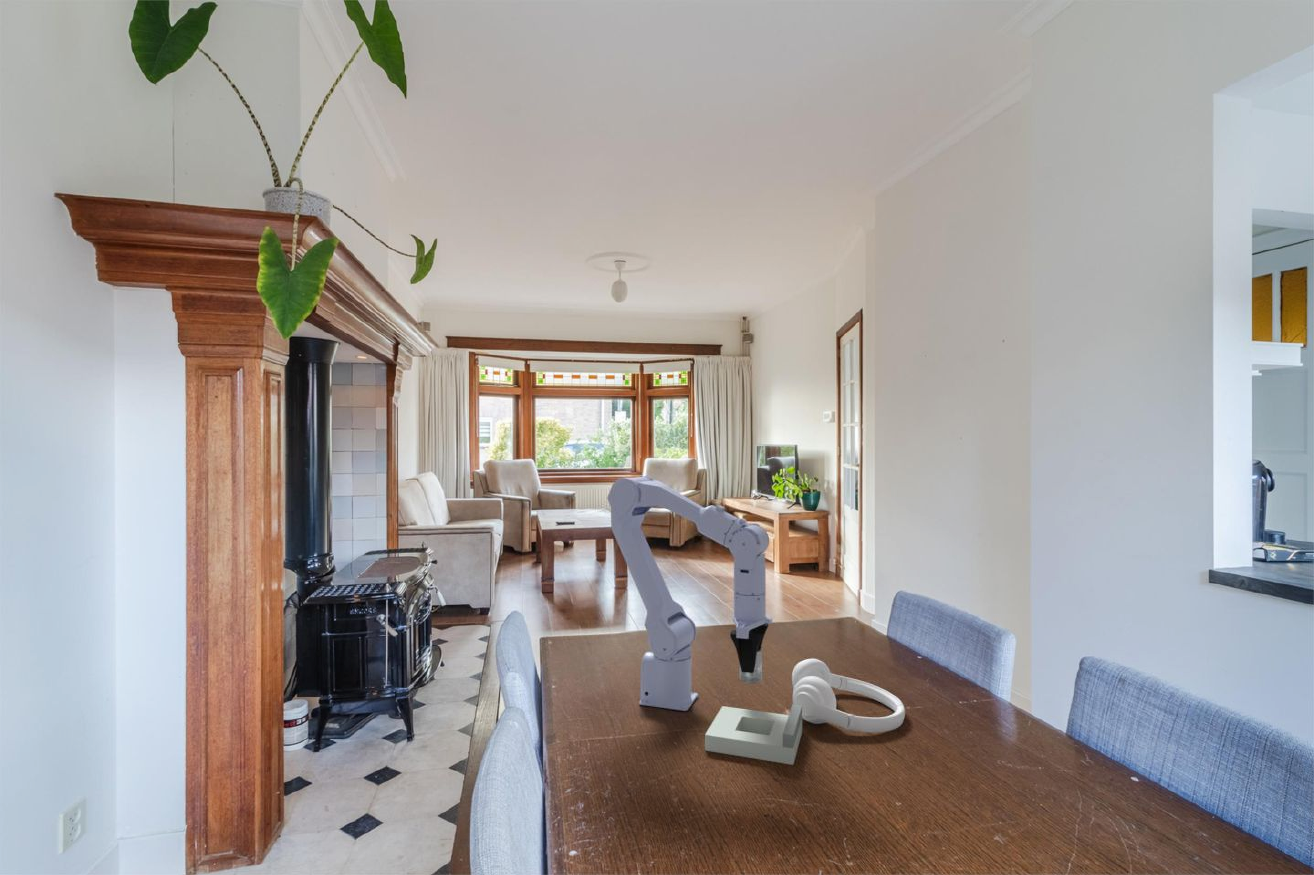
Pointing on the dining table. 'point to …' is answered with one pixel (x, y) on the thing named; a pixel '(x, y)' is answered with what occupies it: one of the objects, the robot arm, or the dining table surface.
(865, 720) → the headphones
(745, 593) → the robot arm
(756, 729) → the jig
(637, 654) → the dining table surface
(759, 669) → the peg
